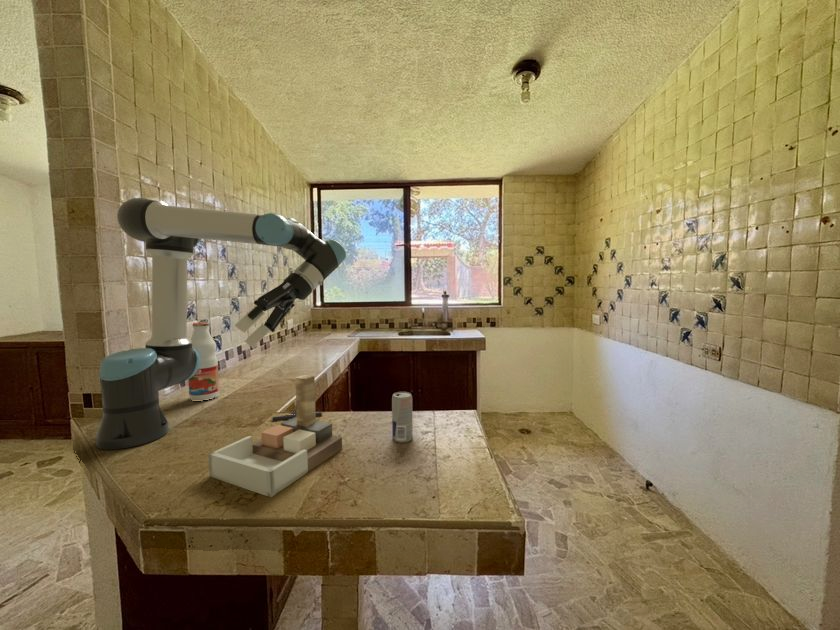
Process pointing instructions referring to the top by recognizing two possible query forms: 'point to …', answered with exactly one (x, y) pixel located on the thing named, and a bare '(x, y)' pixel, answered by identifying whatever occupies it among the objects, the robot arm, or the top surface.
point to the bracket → (292, 416)
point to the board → (313, 454)
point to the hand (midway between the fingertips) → (244, 337)
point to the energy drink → (402, 417)
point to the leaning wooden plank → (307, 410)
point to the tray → (255, 468)
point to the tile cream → (299, 441)
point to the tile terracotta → (275, 436)
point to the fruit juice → (204, 365)
